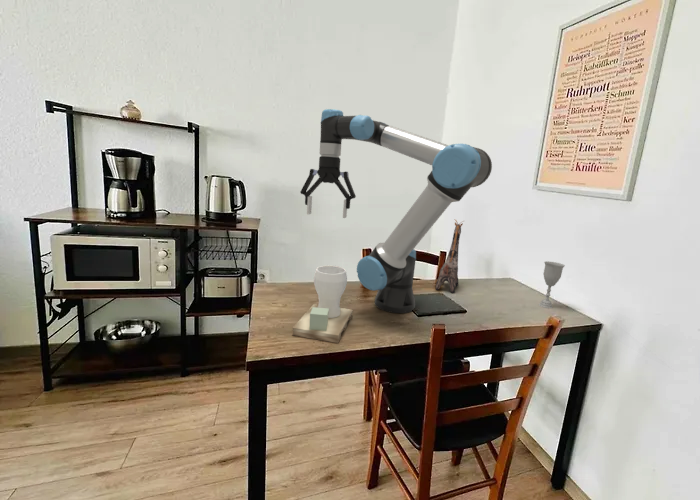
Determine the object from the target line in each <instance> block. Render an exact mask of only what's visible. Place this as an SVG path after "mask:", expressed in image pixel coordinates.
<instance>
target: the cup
mask: <svg viewBox="0 0 700 500" xmlns="http://www.w3.org/2000/svg"><path fill="white" fill-rule="evenodd" d="M347 283H348V275H347V270H346V269H345V268H344V267H342V266H336V265H321V266H317V267H316V269H315V272H314V275H313V284H314V289H315V291H316V294H317V295H318V296H317V297H318V308H328V309H329V315H328V318H335V317H338V316H339V315H340V308H341V305H340V303H341V298H342V296H343V294H344V292H345V290H346V288H347Z"/></svg>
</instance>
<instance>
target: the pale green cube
mask: <svg viewBox="0 0 700 500" xmlns="http://www.w3.org/2000/svg"><path fill="white" fill-rule="evenodd" d="M328 315H329V309H328V308H316V307H312V310H311V313H310V326H309V330H321V331H326V330H327V326H328Z"/></svg>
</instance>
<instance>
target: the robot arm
mask: <svg viewBox="0 0 700 500" xmlns="http://www.w3.org/2000/svg"><path fill="white" fill-rule="evenodd" d="M343 140H353V141H354V140H355V141H361V142H366V143H367V142H368V143H371V144H375V145H376V146H379V147H383V148H384V149H385V148H386V149H388V150H390V151H392V152H393V151H394V152H396V153H399V154H401V155H404V156H407V157H409V158H411V159H415V160H417V161H419V162H422V163H425V164H427V165H430V166H431V167H432V170H431V171H430V172H429V174H428V175H427V177H426V181H427V185H426V187H424V189H423V191H422V192H421V193H420V194H419V196H418V197H417V199H416V200H415V202H414V203H413V204H412V205H411V206H410V207H409V209H408V210H407V212H406V213H405V215H404V216H403V217H402V219H401V220H400V221H399V223H398V224H397V225H396V227H395V228H394V229H393V231H392V232H391V233H390V235H389V236H388V237H387V238H386V240H385V241H384V242H378V243H377V244H376V246H375V247H374V248H373V250H372V251H371V252H370V253H369V255H366V256H364V257H362V258H361V259H360V260H359V261H358V263H357V265H356V273H357V278H358V281H359V282H360V284H361V285H362V286H363V287H364V288H366V289H368V290H369V291H377V293H376V295H375V297H374V305H375V306H376V308H377V309H380V310H381V311H384V312H388V313H394V314H406V313H407V314H408V313H411V312H413V311H414V310H415V309H416V301H415V299H416V298H415V295H414V290H413V283H414V275H415V267H416V261H417V250H415V248H416V247H417V245H418V244H419V243H420V242H421V241H422V240H423V238H424V237H425V235H427V233H428V232H429V231H430V229H432V227H433V226H434V225H435V223H436V222H437V221H438V220H439V218H440V217H441V216H442V215H443V214H444V212H445V211H446V210H447V209H448V207H449V206H450V205H451V204H452V203H454V202H455V203H456V202H460V201H461V200H462V198H463V197H464V196H465V195H466V194H467V192H469V190H470V189H472V188H476V187H479V186H481V185H483V184H484V183H485V182H487V180H488V178H489V177H490V176H491V174H492V169H493V164H492V159H491V157H490V155H489V154H488V153H487V152H486V151H485V150H483V149H481V148H479V147H475V146H471V145H470V144H467V143H453V144H449V145H448V144H447V143H443V142H440V141H437V140H434V139H432V138H431V139H430V138H428V137H425V136H423V135H419V134H417V133H413V132H410V131H407V130H404V129H402V128H399V127H396V126H393V125H389V124H387V123H385V122H382V121H376V120H374V119H372V117H370V116H369V115H362V114H358V115H344V112H343V111H342V110H340V109H332V108H328V109H327V108H326V109H324V110H322V112H321V119H320V142H319V155H320V156H319V158H318V169H315V168H310V169H309V175H308V177H307V178H306V181H305V182H304V184H303V185H302V188H301V190H300V195H304V204H305V205H306V208H307V209H306V214H307V215H311V214H312V204H313V202H312V201H313V196H311V195H312V194H313V193H314V192H315V190H316V189H318V187H319V186H320V185H321V184H322V183H325V184H327V183H328V184H335V185H336V187H337V188H338V190H339V191H340V192H341V193H342V195H343V197H344V198H345V199H344V200H343V207H342V208H343V210H342V219H345V218H347V216H348V215H347V213H348V210H349V209H351V200H352V199H355V198H356V197H357V196H356V193H355V191H354V188H353V186H352V183H351V181H350V177H349V171H341V158H340V156H341V154H342V153H341V152H342V143H343V142H342V141H343ZM317 175H318V178H317V180H316V181H315V182H314V183H313V184H312V181H313V180H314V177H315V176H317ZM340 176H341V177H342V179H343V180H344V183H345V185H346V187H347V189H345V187H344V185H343V184H342V182H341V180H340V179H339V178H340ZM311 184H312V185H311ZM310 185H311V186H310ZM414 308H415V309H414ZM413 309H414V310H413ZM412 310H413V311H412Z"/></svg>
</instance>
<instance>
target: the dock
mask: <svg viewBox="0 0 700 500" xmlns="http://www.w3.org/2000/svg"><path fill="white" fill-rule="evenodd" d="M318 304H319V303H318ZM318 304H317V303H313V304H312V305H311V307H310V308H309V309H308V310H307V311H306V312H305V313H304V314H303V315H302V316H301V317H300V318H299V320H298V321H297V322H296V323H295V324H294V325H293V326H292V336H295V337H301V338H307V339H313V340H318V341H325V342H330V343H335V344H339V342H340V340H341V339H342V336H341V335H342V333H343V332H345V331H346V329H347V327H348V322H349V321H352V318H353V312H354V310H353V309H349V308H344V307H343V308H342V307H340V315H339V316H338V317H335V318H328V326H327V330H326V331H321V330H309V326H310V313H311V310H312V307H316V308H318Z"/></svg>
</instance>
